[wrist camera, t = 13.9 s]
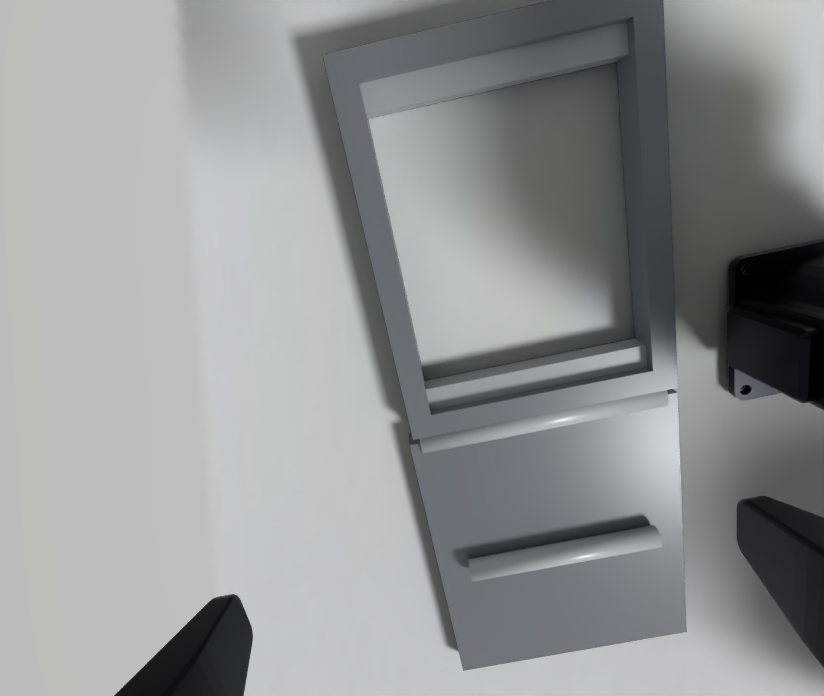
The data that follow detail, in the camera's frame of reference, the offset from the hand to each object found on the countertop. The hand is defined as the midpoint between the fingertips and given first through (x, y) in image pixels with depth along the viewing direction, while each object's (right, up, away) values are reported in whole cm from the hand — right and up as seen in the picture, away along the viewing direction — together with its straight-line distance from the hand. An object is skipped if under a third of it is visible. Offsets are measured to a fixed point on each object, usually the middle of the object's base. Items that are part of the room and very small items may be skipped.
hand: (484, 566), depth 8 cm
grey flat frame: (+4, +2, +13) cm, 14 cm away
